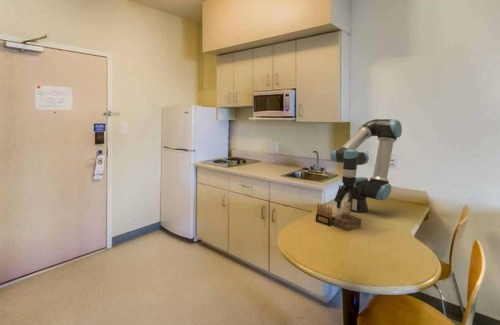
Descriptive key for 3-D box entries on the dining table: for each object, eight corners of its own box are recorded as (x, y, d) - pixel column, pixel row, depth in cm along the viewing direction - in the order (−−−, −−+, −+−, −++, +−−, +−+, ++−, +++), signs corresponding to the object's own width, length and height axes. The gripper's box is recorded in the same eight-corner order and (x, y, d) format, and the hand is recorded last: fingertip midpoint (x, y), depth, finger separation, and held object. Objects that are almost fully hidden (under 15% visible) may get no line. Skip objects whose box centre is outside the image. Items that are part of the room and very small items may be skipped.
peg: (346, 223, 166) (348, 203, 164) (340, 221, 169) (342, 201, 168) (351, 222, 168) (352, 202, 167) (345, 220, 172) (346, 200, 170)
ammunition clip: (315, 221, 176) (316, 202, 174) (317, 220, 177) (318, 202, 175) (330, 226, 168) (331, 206, 166) (332, 225, 169) (333, 206, 167)
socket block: (330, 224, 171) (331, 216, 170) (344, 221, 177) (344, 213, 177) (347, 230, 161) (347, 222, 160) (360, 227, 167) (361, 218, 167)
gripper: (340, 179, 155) (337, 216, 158) (368, 175, 169) (365, 210, 172) (329, 176, 161) (327, 212, 164) (357, 173, 175) (354, 206, 178)
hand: (346, 211), depth 168 cm, fingers open, 13 cm apart
